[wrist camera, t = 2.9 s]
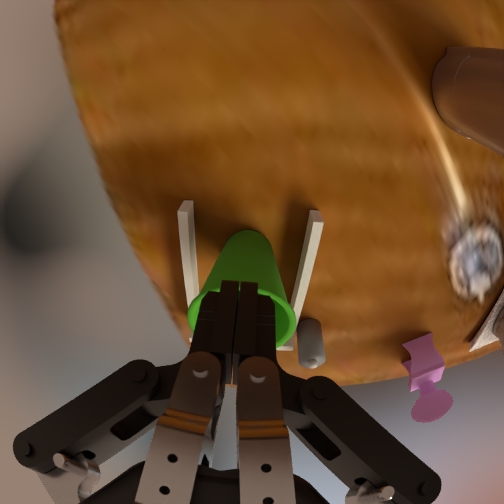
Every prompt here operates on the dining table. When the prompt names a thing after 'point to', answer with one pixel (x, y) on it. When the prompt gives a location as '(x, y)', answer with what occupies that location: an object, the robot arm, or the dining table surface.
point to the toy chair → (426, 379)
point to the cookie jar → (491, 327)
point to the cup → (250, 278)
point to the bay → (308, 329)
